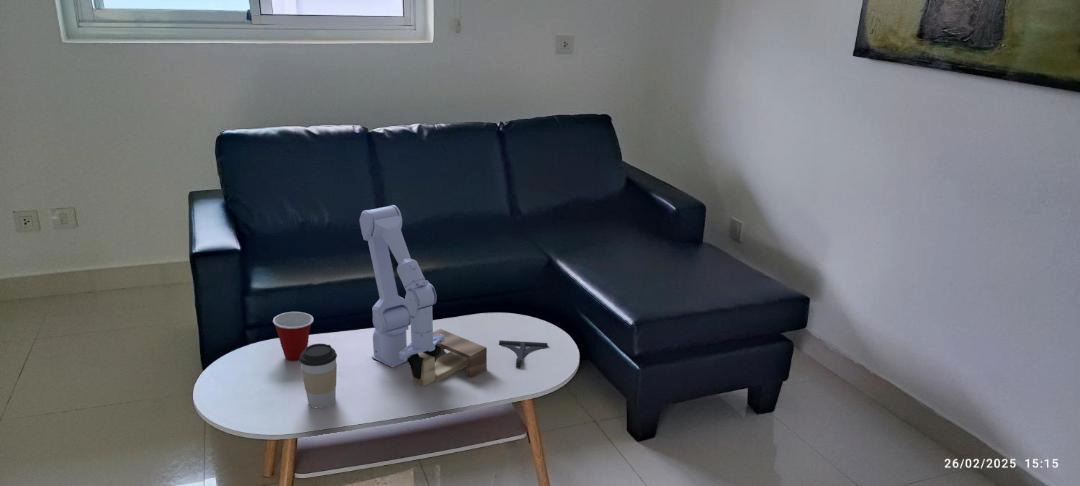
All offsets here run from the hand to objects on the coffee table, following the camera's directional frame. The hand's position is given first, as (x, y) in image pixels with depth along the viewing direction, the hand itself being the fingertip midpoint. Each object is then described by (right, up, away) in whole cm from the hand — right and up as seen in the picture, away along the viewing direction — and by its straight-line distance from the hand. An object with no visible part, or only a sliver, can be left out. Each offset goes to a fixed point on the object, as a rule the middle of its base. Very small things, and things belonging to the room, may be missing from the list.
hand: (423, 374), depth 199 cm
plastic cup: (-38, +3, +11) cm, 40 cm away
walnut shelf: (+7, +1, +10) cm, 12 cm away
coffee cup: (-24, -5, -10) cm, 27 cm away
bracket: (+26, +2, +15) cm, 30 cm away
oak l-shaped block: (+5, 0, +7) cm, 8 cm away
